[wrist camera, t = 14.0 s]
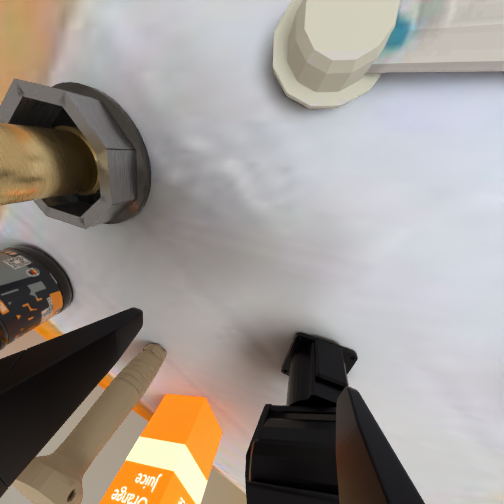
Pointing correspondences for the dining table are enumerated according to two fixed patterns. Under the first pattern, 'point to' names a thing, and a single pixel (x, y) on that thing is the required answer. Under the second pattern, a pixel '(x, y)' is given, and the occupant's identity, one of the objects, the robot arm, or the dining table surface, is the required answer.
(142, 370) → the handle
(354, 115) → the dining table surface
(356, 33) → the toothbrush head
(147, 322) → the dining table surface
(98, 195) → the collar fitting
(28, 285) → the supplement container
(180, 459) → the orange juice
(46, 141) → the gold bulb-shaped piece
